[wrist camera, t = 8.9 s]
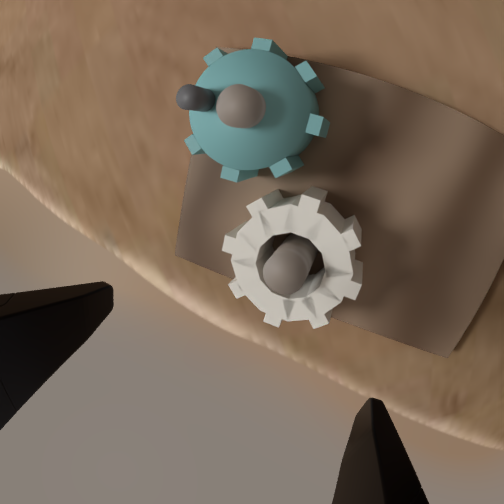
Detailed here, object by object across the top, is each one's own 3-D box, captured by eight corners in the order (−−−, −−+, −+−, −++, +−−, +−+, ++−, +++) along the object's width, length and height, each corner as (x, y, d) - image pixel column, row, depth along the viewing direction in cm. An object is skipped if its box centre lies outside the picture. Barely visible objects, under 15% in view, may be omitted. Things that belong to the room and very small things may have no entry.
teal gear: (344, 69, 14) (336, 41, 10) (310, 193, 17) (291, 209, 12) (222, 47, 15) (180, 24, 11) (196, 158, 18) (149, 165, 14)
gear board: (530, 156, 12) (574, 163, 7) (445, 349, 17) (457, 399, 13) (223, 50, 16) (180, 28, 12) (182, 250, 22) (138, 277, 18)
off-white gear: (338, 319, 18) (332, 347, 16) (232, 279, 20) (211, 299, 17) (382, 210, 15) (386, 224, 13) (258, 169, 17) (238, 174, 14)
